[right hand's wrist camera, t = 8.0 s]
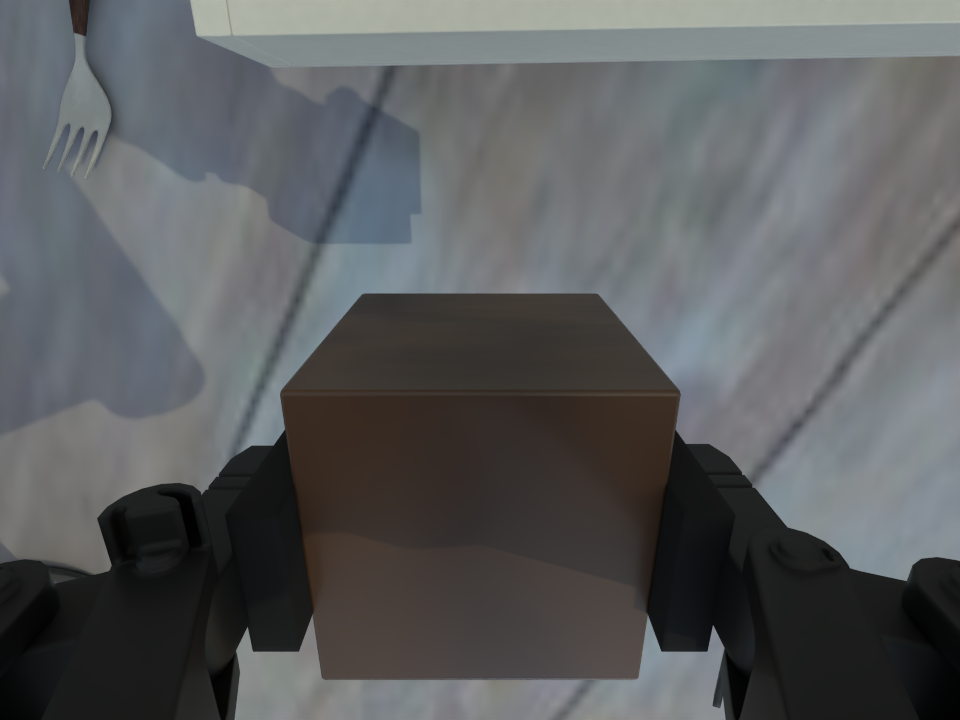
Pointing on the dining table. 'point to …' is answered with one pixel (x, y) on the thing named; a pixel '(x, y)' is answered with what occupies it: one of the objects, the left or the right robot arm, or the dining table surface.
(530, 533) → the walnut block
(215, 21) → the bin
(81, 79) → the fork
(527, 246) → the dining table surface
